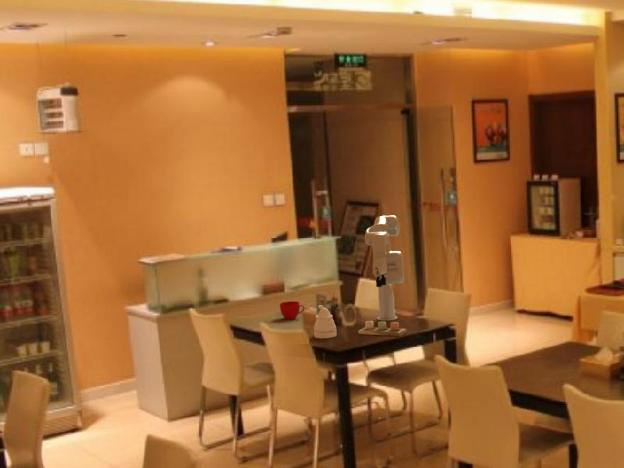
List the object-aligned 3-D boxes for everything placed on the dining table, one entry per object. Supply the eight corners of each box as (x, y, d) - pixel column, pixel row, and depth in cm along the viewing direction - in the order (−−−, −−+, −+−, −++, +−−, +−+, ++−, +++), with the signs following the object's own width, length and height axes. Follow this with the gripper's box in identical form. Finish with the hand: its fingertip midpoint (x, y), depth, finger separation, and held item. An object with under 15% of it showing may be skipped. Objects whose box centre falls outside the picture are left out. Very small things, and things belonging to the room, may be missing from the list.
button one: (367, 327, 509) (367, 320, 509) (375, 327, 507) (374, 320, 506) (364, 329, 505) (363, 322, 504) (371, 329, 502) (371, 322, 502)
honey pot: (318, 339, 497) (316, 308, 495) (311, 335, 509) (309, 304, 507) (339, 336, 500) (337, 305, 499) (332, 332, 513) (330, 302, 511)
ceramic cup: (300, 320, 553) (299, 305, 552) (277, 320, 561) (276, 304, 560) (309, 316, 565) (308, 301, 564) (286, 316, 572) (285, 301, 571)
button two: (380, 328, 505) (379, 321, 505) (387, 328, 503) (387, 321, 502) (376, 329, 501) (376, 322, 500) (384, 330, 499) (383, 323, 498)
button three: (392, 328, 501) (392, 321, 501) (400, 329, 499) (400, 321, 498) (389, 330, 497) (389, 323, 497) (397, 330, 495) (396, 323, 494)
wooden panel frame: (366, 330, 513) (365, 326, 513) (406, 332, 500) (406, 328, 500) (358, 333, 504) (358, 330, 504) (399, 336, 491) (399, 332, 491)
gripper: (379, 252, 509) (381, 283, 510) (367, 257, 494) (369, 288, 496) (391, 252, 505) (393, 283, 507) (379, 257, 490) (380, 288, 492)
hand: (381, 285), depth 501 cm, fingers open, 5 cm apart
